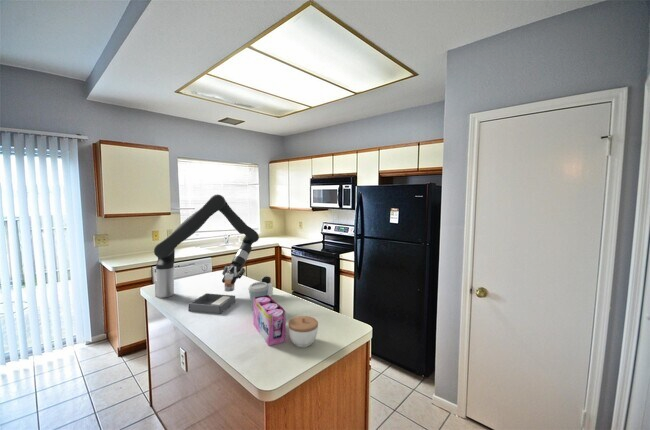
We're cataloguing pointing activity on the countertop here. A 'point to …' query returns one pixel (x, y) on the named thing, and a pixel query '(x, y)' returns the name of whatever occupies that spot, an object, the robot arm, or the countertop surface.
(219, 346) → the countertop surface
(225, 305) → the tote
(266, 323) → the gum box
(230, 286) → the silver lidded jar
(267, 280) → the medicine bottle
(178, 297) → the countertop surface
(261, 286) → the disposable coffee cup
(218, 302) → the cream rectangular block
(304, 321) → the lidded bowl
